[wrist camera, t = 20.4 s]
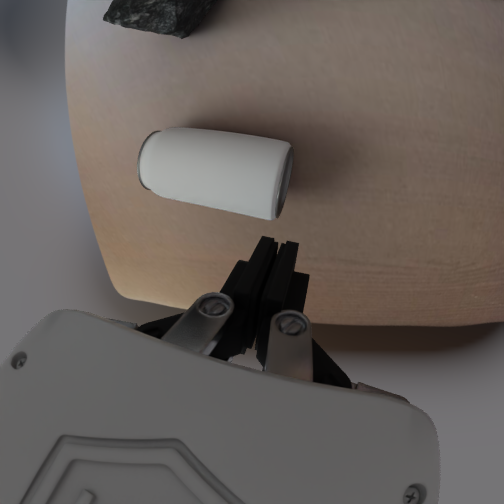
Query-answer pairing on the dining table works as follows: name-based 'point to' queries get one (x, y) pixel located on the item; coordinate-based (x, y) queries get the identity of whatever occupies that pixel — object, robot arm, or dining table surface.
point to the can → (217, 169)
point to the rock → (159, 15)
